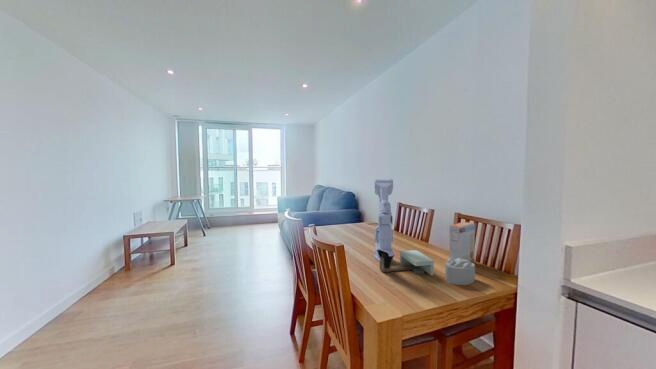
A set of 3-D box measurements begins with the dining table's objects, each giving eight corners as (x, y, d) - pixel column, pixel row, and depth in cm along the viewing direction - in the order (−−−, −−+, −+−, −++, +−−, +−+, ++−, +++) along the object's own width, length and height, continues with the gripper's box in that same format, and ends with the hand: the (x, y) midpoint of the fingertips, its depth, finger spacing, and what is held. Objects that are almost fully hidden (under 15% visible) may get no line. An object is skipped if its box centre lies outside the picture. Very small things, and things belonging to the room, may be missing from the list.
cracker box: (463, 259, 141) (464, 221, 140) (474, 262, 136) (475, 223, 135) (448, 264, 134) (449, 224, 133) (459, 268, 129) (460, 226, 128)
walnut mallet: (379, 268, 127) (379, 256, 127) (415, 266, 132) (415, 254, 131) (383, 271, 123) (383, 259, 123) (419, 269, 128) (420, 257, 128)
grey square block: (412, 271, 126) (412, 268, 126) (419, 271, 127) (419, 267, 127) (416, 274, 122) (416, 271, 122) (423, 274, 123) (424, 270, 123)
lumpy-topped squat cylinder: (477, 280, 115) (478, 261, 115) (462, 287, 108) (462, 267, 107) (455, 272, 124) (455, 254, 123) (439, 279, 116) (439, 260, 116)
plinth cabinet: (399, 264, 135) (400, 251, 134) (416, 263, 136) (416, 250, 136) (415, 276, 119) (415, 261, 118) (433, 275, 120) (433, 260, 120)
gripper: (372, 235, 131) (372, 261, 132) (383, 243, 117) (383, 272, 118) (385, 234, 133) (385, 260, 133) (397, 242, 118) (397, 271, 119)
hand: (385, 266), depth 126 cm, fingers closed on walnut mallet, 4 cm apart
